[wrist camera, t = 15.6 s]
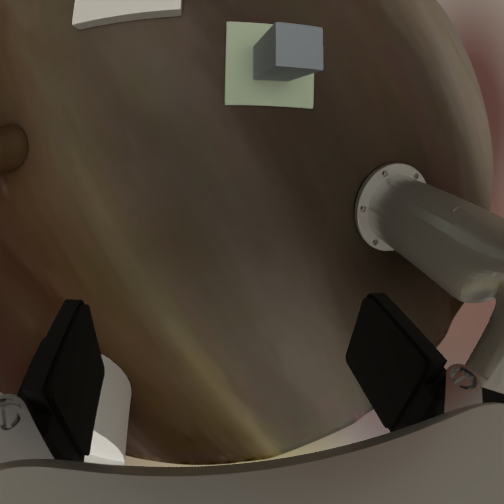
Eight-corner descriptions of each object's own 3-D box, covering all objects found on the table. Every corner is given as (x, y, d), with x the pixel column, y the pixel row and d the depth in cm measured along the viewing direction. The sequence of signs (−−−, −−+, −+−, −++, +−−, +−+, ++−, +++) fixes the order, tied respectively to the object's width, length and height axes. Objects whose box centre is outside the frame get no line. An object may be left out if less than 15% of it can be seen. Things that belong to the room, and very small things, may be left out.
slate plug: (288, 49, 29) (322, 27, 20) (288, 81, 31) (323, 70, 22) (253, 46, 29) (275, 21, 20) (253, 79, 30) (276, 65, 21)
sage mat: (312, 31, 29) (314, 29, 29) (311, 108, 33) (313, 108, 33) (226, 23, 28) (226, 21, 27) (224, 105, 32) (225, 104, 31)
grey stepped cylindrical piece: (127, 420, 49) (121, 555, 24) (42, 397, 44) (10, 523, 19) (137, 360, 44) (123, 536, 18) (34, 330, 38) (-30, 484, 13)
